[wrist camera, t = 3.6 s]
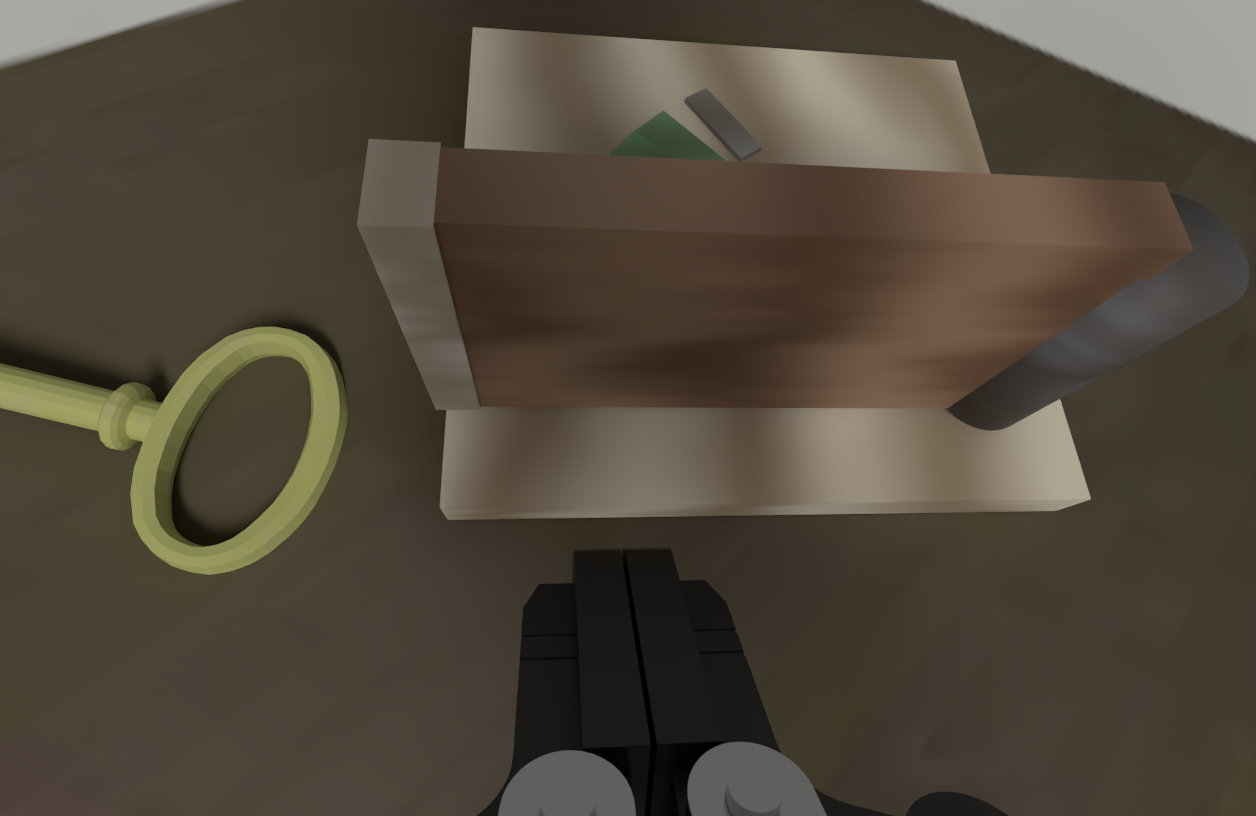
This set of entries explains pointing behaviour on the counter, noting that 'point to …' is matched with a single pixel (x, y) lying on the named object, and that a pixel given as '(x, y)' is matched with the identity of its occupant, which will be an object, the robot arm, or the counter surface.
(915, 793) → the counter surface
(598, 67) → the beige flat square sheet
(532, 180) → the brown wood panel
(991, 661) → the counter surface
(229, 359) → the key
